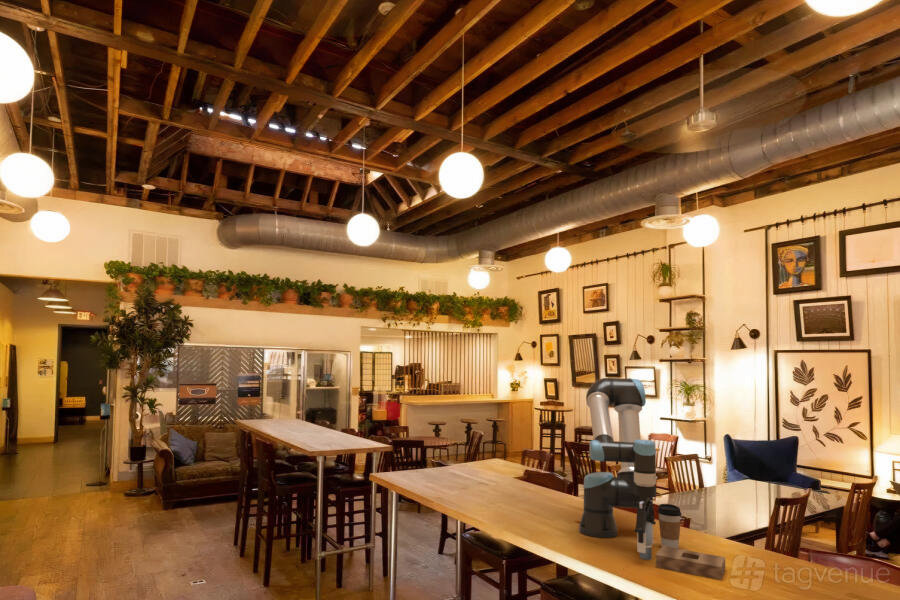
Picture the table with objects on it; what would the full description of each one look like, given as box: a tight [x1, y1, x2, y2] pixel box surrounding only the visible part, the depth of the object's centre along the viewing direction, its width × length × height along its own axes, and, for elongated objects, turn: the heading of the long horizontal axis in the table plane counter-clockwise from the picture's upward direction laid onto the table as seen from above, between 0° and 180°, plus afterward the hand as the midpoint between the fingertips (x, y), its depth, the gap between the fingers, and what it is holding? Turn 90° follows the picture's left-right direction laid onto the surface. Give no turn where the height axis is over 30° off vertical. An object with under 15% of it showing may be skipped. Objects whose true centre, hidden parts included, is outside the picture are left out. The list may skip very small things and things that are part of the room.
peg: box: [639, 521, 653, 561], centre depth 199 cm, size 4×4×12 cm
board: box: [655, 545, 726, 581], centre depth 189 cm, size 20×12×4 cm, turn 59°
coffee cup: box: [657, 503, 682, 549], centre depth 212 cm, size 8×8×15 cm
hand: (645, 547), depth 199 cm, fingers open, 12 cm apart
